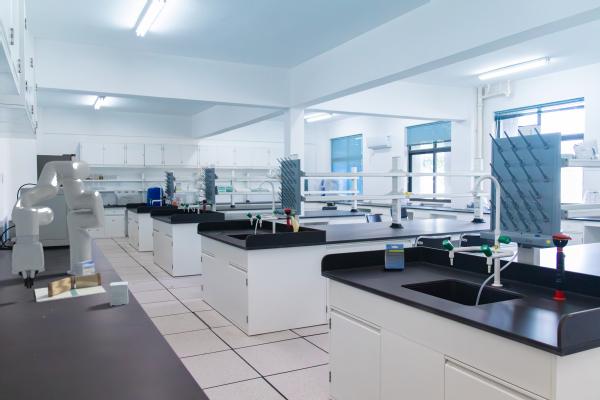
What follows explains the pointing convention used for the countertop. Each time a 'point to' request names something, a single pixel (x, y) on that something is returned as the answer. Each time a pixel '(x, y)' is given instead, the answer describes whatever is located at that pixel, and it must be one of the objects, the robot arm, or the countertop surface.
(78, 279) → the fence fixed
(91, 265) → the medicine box
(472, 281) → the countertop surface
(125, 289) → the product box
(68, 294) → the card
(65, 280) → the fence panel
